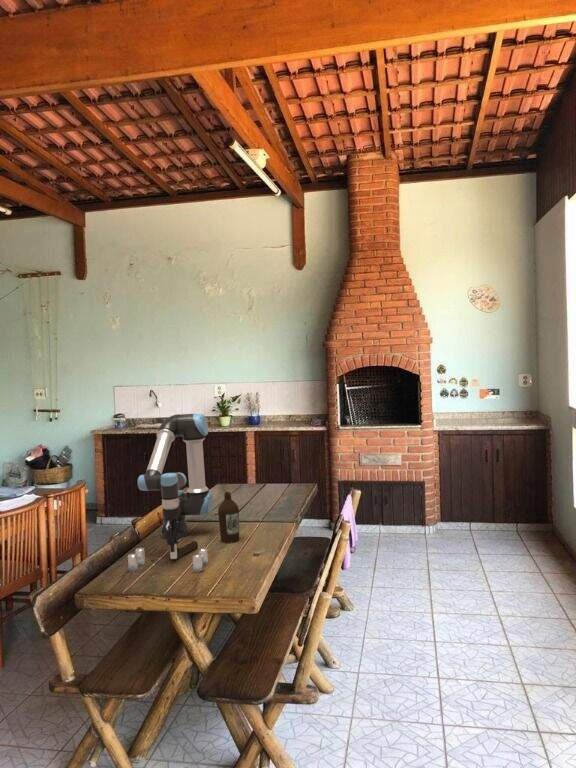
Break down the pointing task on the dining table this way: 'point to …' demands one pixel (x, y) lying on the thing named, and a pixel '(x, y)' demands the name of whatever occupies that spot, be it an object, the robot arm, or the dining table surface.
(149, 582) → the dining table surface
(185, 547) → the hand tool
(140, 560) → the spacer
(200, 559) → the cylinder
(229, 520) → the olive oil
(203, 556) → the cylinder
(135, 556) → the cylinder
